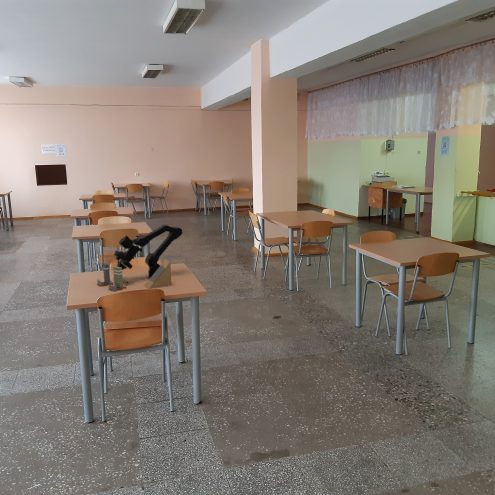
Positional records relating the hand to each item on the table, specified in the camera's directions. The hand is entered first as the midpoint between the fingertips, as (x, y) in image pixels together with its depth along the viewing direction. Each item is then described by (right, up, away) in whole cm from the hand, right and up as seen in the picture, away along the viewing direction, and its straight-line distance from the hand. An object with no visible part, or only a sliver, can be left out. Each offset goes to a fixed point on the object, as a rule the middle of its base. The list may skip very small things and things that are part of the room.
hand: (114, 272), depth 298 cm
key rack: (0, -8, -7) cm, 11 cm away
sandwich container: (+28, -8, -5) cm, 29 cm away
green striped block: (+5, -8, -11) cm, 14 cm away
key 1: (-4, -6, -2) cm, 8 cm away
